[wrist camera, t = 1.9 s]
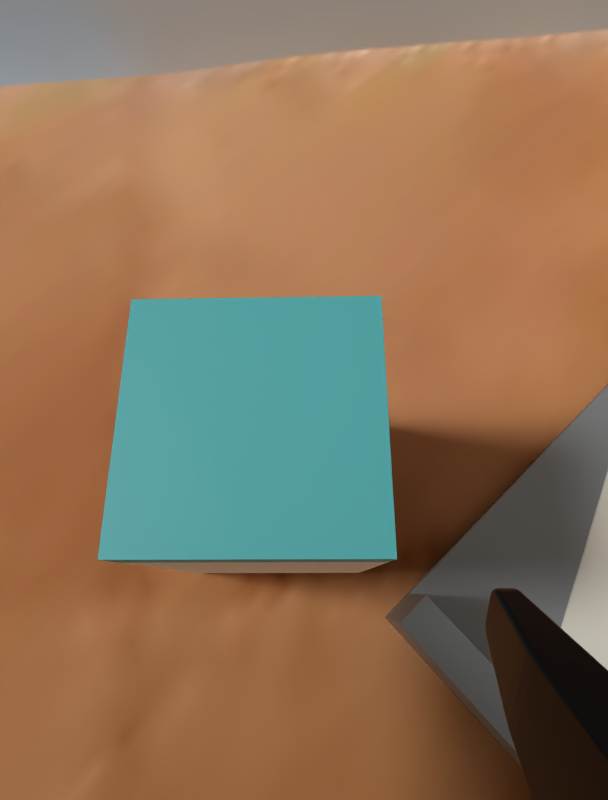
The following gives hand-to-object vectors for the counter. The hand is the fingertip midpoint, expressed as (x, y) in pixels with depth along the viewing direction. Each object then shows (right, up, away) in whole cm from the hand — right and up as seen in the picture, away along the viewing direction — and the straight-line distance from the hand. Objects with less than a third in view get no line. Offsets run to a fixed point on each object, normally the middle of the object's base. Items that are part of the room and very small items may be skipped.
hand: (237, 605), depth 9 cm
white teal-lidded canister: (0, 0, +12) cm, 12 cm away
